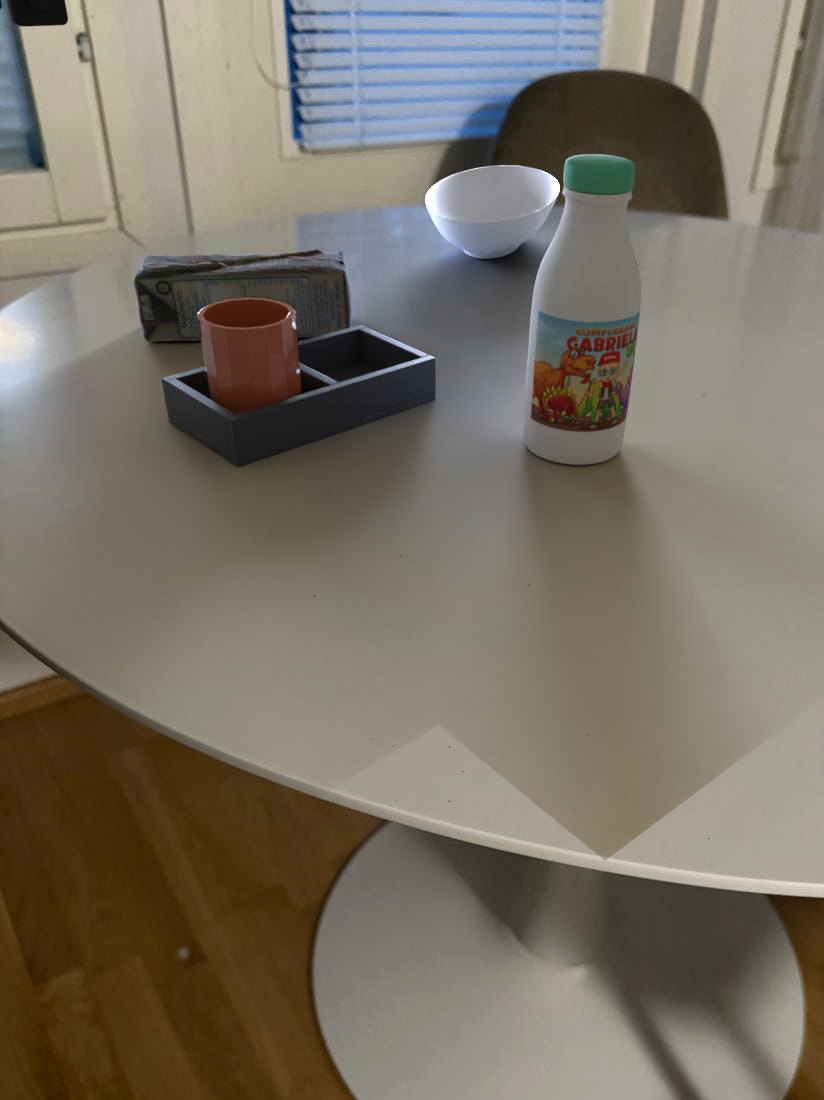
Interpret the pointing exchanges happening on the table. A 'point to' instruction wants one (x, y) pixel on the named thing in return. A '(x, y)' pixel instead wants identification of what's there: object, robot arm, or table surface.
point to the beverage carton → (242, 289)
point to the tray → (308, 396)
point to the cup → (249, 352)
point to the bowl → (491, 207)
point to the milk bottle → (584, 319)
